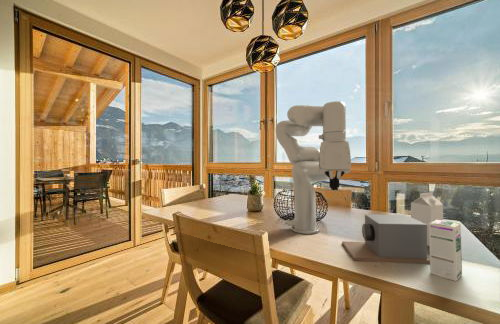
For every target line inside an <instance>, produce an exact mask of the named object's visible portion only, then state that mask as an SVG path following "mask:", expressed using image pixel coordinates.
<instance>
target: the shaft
mask: <svg viewBox="0 0 500 324" xmlns="http://www.w3.org/2000/svg"><path fill="white" fill-rule="evenodd" d="M361 233H362V237H363V241H364V242H365V241H373V240H374V229H373V226H372V225H371V224H365V223H363V224H362V226H361Z"/></svg>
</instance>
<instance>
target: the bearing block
mask: <svg viewBox="0 0 500 324" xmlns="http://www.w3.org/2000/svg"><path fill="white" fill-rule="evenodd" d="M364 224H371V225H372V226H373V229H374V240H373V241H365V240H364V241H346V240H345V241H344V240H343V241H341V245H342V246H343V247H344V249H345V250H346V252H347V253H348V255H349V256H350V257H351V258H352V260H353V261H355V262H356V261H358V262H376V263H378V262H380V263H385V262H386V263H401V264H402V263H406V264H407V263H408V264H425V265H426V264H429V265H430V257H429V256H428V246H427V224H425V223H422V222H420V221H418V220H416V219H414V218H411V216H409V215H407V214H381V213H380V214H379V213H378V214H377V213H376V214H375V213H374V214H371V213H370V214H369V213H368V214H366V213H365V214H364Z"/></svg>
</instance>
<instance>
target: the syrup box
mask: <svg viewBox="0 0 500 324" xmlns="http://www.w3.org/2000/svg"><path fill="white" fill-rule="evenodd" d="M428 247H429V258H430V264H429V271H430V274H432V275H435V276H437V277H441V278H444V279H446V280H447V279H448V280H449V281H450V280H451V281H453V282H457V280H459V279H460V278H461V276H462V275H463V263H462V259H463V258H462V228H461V223H459V222H455V221H449V220H444V219H443V220H435V221H433V222H431V223H429V246H428Z"/></svg>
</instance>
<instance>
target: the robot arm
mask: <svg viewBox="0 0 500 324" xmlns="http://www.w3.org/2000/svg"><path fill="white" fill-rule="evenodd" d="M346 112H347V110H346V104H345V102H343V101H341V100H340V101H337V100H336V101H329V102H326V103H325V104H323V106H320V105H317V106H316V105H315V106H314V105H308V104H303V105H293V106H291V107H289V109H288V110H287V113H286V115H287V119H288V120H287V119H286V120H281V121H279V122H278V123H277V124H276V125H275V135H276V136H275V137H276V140H277V142H278V143H279V144H280V146H281V147H282V148H283V149H284V152H285V154H286V156H287V158H288V161H289V162H290V164H291V165H292V167H291V175H292V181H293V192H294V193H293V195H294V218H293V219H292V220H289V219H287V220H285V221H284V224H285V225H287V226H291V231H293V232H295V233H297V234H304V235H315V234H318V233H319V232H320V227H319V226H318V225H317V206H316V205H317V204H316V203H317V201H316V200H317V199H316V197H317V195H316V190H315V187H313V185H312V183H315V182H326V181H328V180H329V181H328V182H329V188H330V190H332V191H338V190H339V188H340V179H341V177H343V175H347V174H350V173H351V172H352V171H351V168H352V157H351V149H350V144H349V143H350V142H349V141H347V140H346V138H347V135H346V134H347V133H346V132H347V131H346V129H347V127H346V126H347V125H346V122H347V120H346V119H347V117H346V114H347V113H346ZM312 127H322V133H321V134H319V135H318V139H319V140H322V141H321V142H320V146H319V148H318V147H316V146H302V145H301V143H300V141H298V139H297V138H296V137H305V136H307V135H308V134H309V132H310V131H311V129H312ZM333 171H335V175H334V172H333Z"/></svg>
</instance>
